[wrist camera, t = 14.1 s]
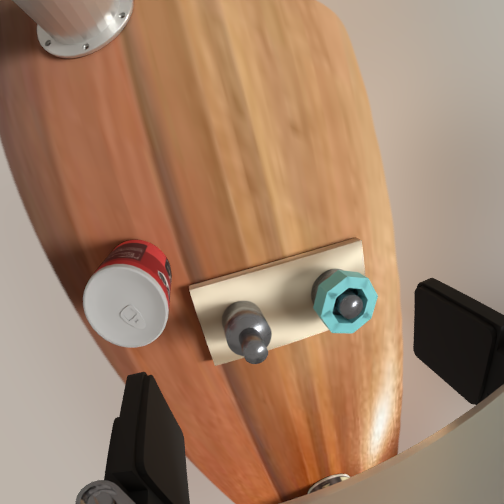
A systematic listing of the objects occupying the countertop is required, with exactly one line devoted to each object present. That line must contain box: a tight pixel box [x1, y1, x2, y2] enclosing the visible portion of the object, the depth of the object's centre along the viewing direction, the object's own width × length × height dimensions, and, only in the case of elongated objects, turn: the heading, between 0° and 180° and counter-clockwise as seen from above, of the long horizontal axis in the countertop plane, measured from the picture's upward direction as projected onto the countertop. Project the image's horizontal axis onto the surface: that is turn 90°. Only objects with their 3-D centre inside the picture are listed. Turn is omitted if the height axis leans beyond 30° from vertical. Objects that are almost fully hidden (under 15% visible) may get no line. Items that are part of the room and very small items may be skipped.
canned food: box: [83, 240, 172, 347], centre depth 31 cm, size 8×8×11 cm
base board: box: [189, 238, 365, 366], centre depth 40 cm, size 11×22×2 cm, turn 104°
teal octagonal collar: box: [313, 270, 378, 333], centre depth 37 cm, size 7×7×2 cm
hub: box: [311, 268, 363, 319], centre depth 38 cm, size 6×6×6 cm
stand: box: [222, 301, 272, 364], centre depth 35 cm, size 5×5×8 cm
